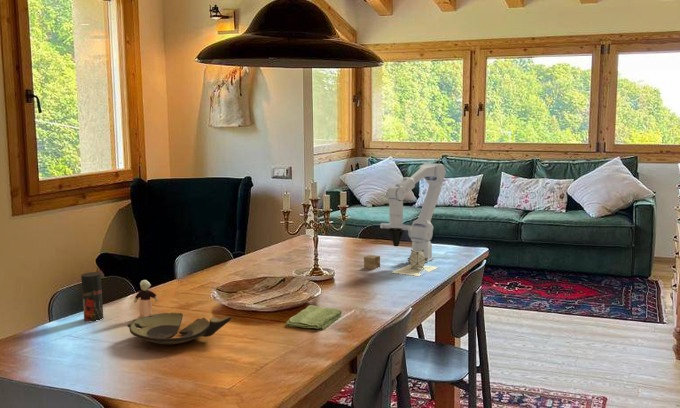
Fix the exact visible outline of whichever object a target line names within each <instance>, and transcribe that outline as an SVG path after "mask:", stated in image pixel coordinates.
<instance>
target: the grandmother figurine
mask: <svg viewBox="0 0 680 408" xmlns="http://www.w3.org/2000/svg"><path fill="white" fill-rule="evenodd" d="M139 285H140V286H139V287H140V289H141V290H139V292H137V293H136V295H135V297H134V300H133V303H135V304H136V303H137V302H138V301H139V315H138V317H137V319H138V318H139V319H140V318H143V317H147V316H151V315H153V314H152V313H153V312H152V311H153V309H152V306H153V305H152V299H154V301H155V302H158V301H159V299H158V296H157V294H156V293H155V292H153V291H152V290H149V289H150V287H151V283H150V282H149V281H148V280H147V279H143V280H141V281H140V282H139ZM151 298H152V299H151ZM139 299H140V300H139Z"/></svg>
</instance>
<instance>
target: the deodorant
mask: <svg viewBox="0 0 680 408" xmlns="http://www.w3.org/2000/svg"><path fill="white" fill-rule="evenodd" d="M80 277H81V279H80V280H81V291H82V306H83V307H82V309H83V319H84V320H86V321H96V320H100V319H102V318H103V319H104V306H103V303H104V302H103V290H102V276H101V273H100V272H93V271H91V272H85V273H82V274H80ZM103 319H102V320H103ZM86 321H85V322H86ZM100 321H101V320H100ZM96 322H97V321H96Z"/></svg>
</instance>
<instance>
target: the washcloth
mask: <svg viewBox="0 0 680 408" xmlns="http://www.w3.org/2000/svg"><path fill="white" fill-rule="evenodd" d="M342 313H343V311H342V309H340V308H339V309H338V308H332V307H331V308H330V307H322V306H319V305H312V304H311V305H310V304H309V305H308V306H307V307H306V308H305V309H302V310H301V311H299V312H298V313H297V314H295V315H293V316H292V317H290V318H289V319H288V320H287V321H286V322H285V326H288V327H293V328H302V329H313V330H320V331H324V330H326V329H327V328H328V327H330V325H332V324H333V323H334V322H335V321H337V320H338V319H339V318H340V317H342Z"/></svg>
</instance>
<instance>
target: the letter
mask: <svg viewBox="0 0 680 408" xmlns="http://www.w3.org/2000/svg"><path fill="white" fill-rule="evenodd" d="M425 267H426V268H425ZM411 268H412V266H411V264H410V263H409V264H408V265H405V266H403V267H401V268H398V269H396V270H394V271H391V273H392V274H398V273H399V275H405V274H406V275H407V276H413V275H414V276H416V277H421V276H422V275H421V274H420V273H421V272H422V271H425V270H426V271H428V273H430V272H432V271H434V270H436V269H438V268H439V267H438V266H432V265H424V266H423V268H424V269H422V268H412V269H411ZM420 271H421V272H420ZM419 272H420V273H419ZM418 273H419V274H418ZM420 275H421V276H420Z"/></svg>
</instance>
